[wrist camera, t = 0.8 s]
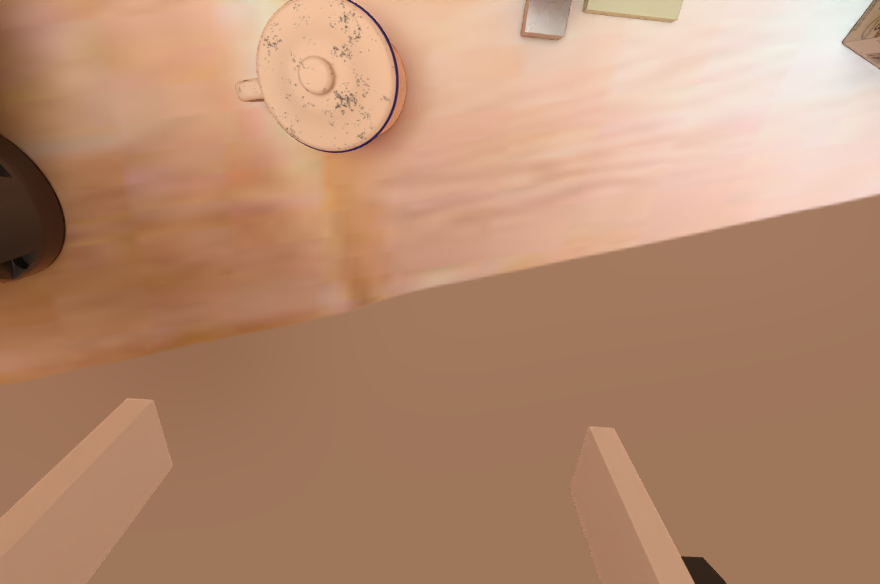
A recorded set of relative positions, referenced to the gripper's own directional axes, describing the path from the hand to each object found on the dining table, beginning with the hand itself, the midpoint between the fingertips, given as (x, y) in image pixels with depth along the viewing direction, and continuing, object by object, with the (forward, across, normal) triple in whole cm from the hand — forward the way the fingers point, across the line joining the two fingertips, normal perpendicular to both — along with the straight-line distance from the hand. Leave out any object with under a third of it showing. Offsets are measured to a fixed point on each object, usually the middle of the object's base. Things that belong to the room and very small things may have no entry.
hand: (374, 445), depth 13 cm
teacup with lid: (+29, -7, +10) cm, 31 cm away
